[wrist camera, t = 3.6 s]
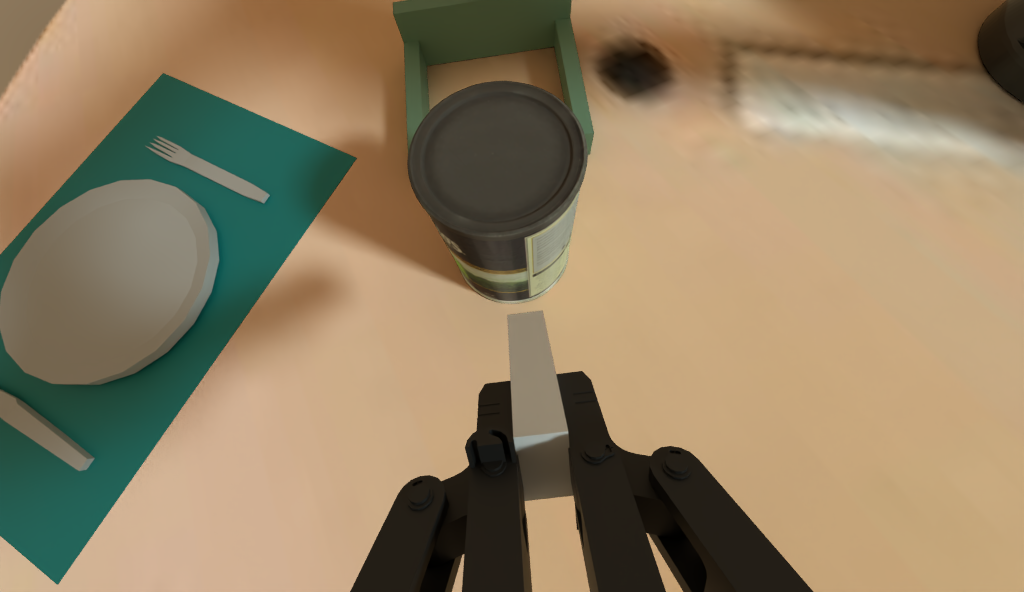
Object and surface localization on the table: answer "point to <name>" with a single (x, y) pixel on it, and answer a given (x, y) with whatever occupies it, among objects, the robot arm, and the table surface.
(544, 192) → the coffee can
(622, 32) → the table surface
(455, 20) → the green frame
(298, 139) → the place mat
